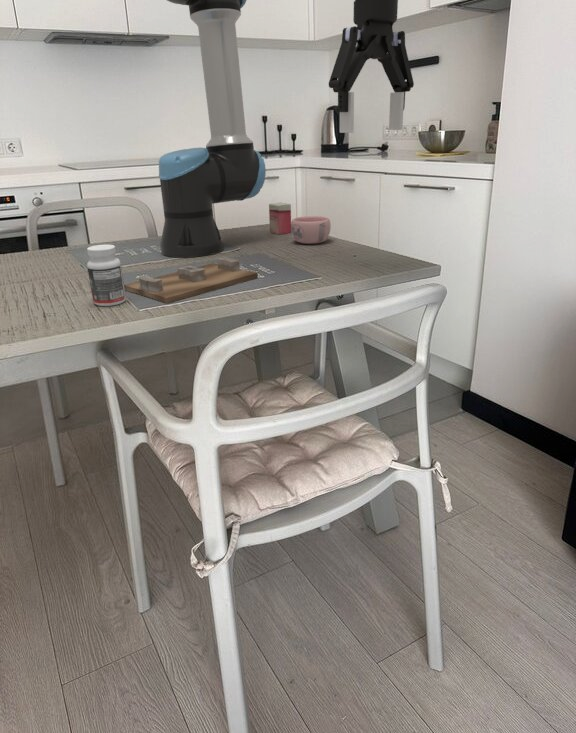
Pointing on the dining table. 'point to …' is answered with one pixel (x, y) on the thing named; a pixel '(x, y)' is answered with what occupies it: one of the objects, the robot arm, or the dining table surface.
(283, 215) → the small box
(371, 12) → the robot arm
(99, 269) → the pill bottle
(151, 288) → the board
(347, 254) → the dining table surface
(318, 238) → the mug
